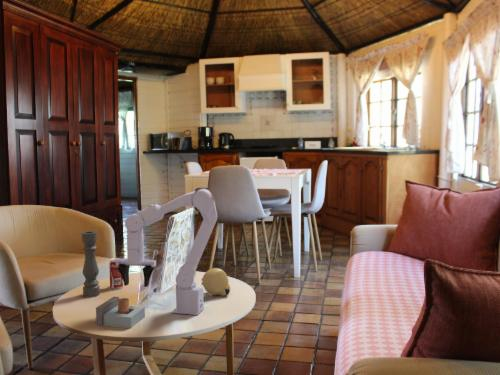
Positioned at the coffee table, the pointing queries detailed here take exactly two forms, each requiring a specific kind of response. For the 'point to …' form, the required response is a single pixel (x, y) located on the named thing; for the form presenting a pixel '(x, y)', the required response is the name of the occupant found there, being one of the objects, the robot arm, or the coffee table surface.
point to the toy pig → (216, 282)
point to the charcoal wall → (105, 309)
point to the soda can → (115, 275)
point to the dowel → (123, 306)
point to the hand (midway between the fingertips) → (136, 285)
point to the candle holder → (90, 265)
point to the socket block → (124, 317)
